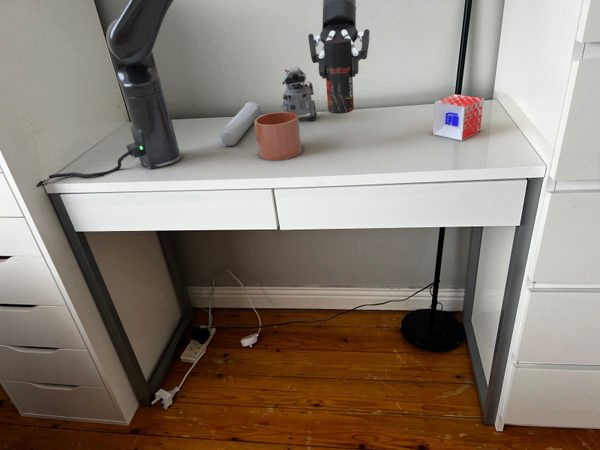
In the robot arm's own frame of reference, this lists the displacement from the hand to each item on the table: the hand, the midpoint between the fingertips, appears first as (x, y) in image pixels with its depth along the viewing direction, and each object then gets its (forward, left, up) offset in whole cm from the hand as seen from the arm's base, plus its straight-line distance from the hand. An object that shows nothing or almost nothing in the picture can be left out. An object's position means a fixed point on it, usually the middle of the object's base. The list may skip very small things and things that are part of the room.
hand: (338, 75), depth 98 cm
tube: (-5, +34, -18) cm, 39 cm away
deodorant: (+1, +1, -8) cm, 9 cm away
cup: (-9, +12, -17) cm, 23 cm away
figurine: (+10, +26, -18) cm, 33 cm away
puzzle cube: (+24, -16, -18) cm, 33 cm away
